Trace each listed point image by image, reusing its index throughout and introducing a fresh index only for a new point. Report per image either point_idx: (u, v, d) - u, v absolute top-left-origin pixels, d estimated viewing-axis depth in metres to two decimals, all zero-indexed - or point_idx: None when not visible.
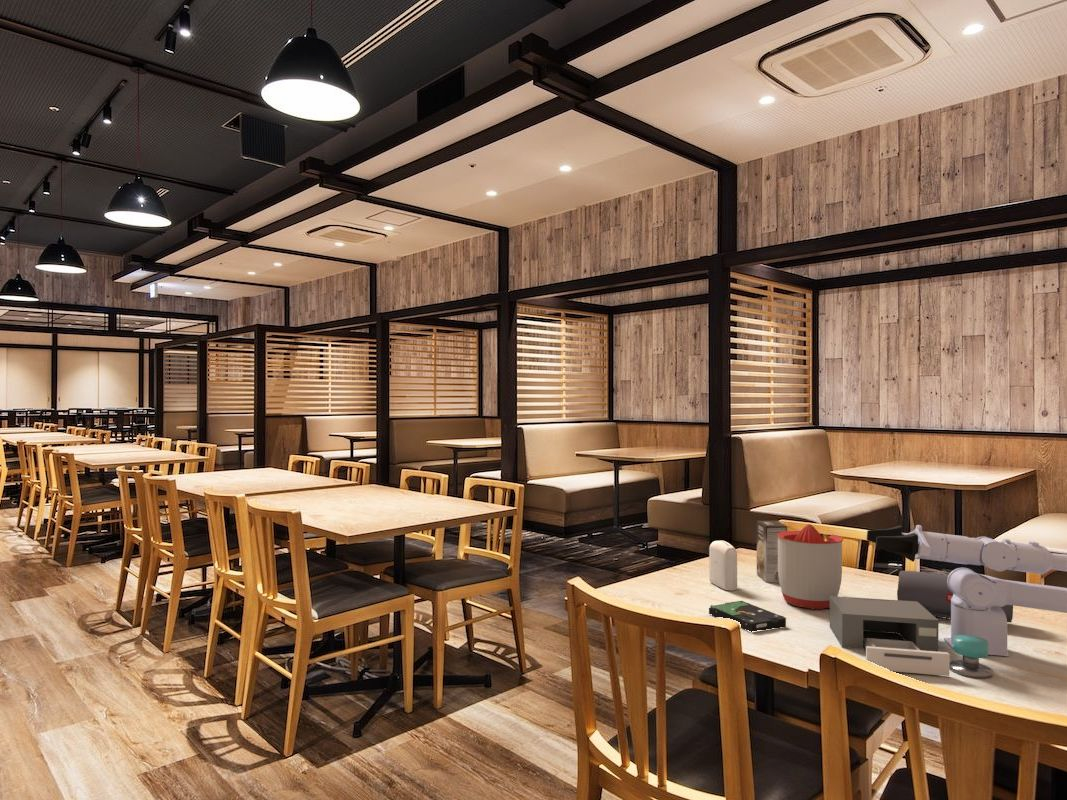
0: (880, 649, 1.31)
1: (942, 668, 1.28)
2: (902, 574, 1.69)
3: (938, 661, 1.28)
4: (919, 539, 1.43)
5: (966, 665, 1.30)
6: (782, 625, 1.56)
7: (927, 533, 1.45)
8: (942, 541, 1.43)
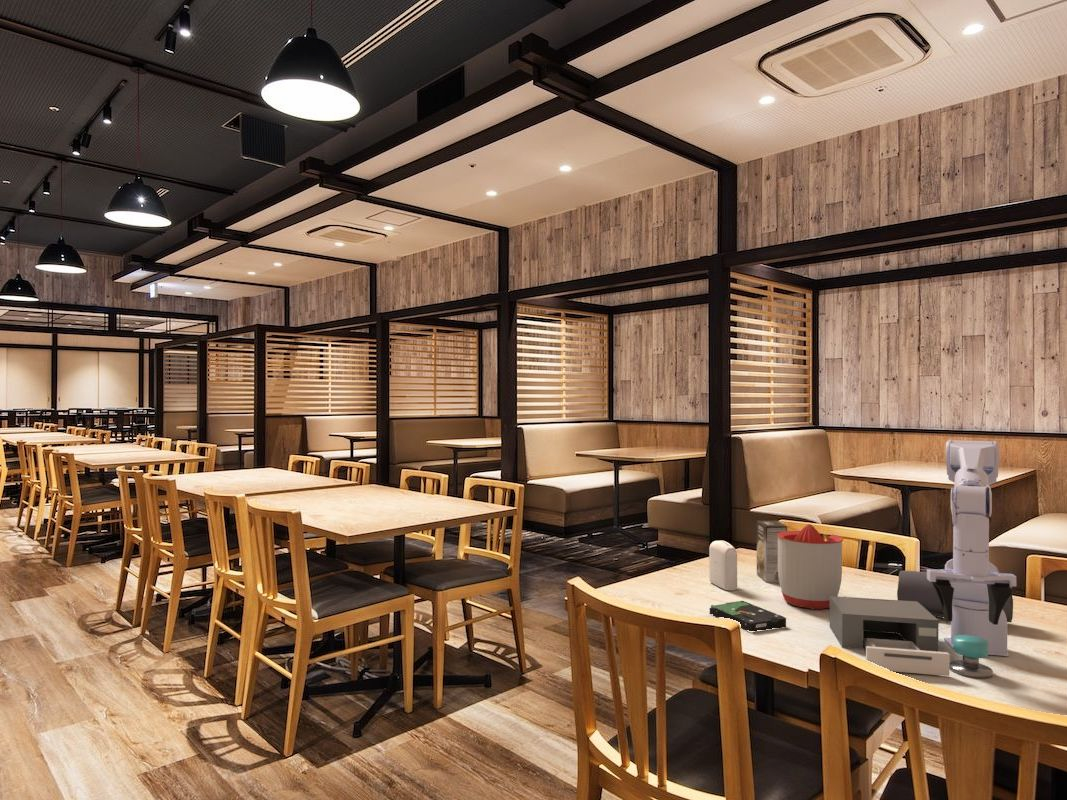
0: (880, 649, 1.31)
1: (942, 668, 1.28)
2: (902, 574, 1.69)
3: (938, 661, 1.28)
4: None
5: (966, 665, 1.30)
6: (782, 625, 1.56)
7: (981, 570, 1.28)
8: (988, 556, 1.29)
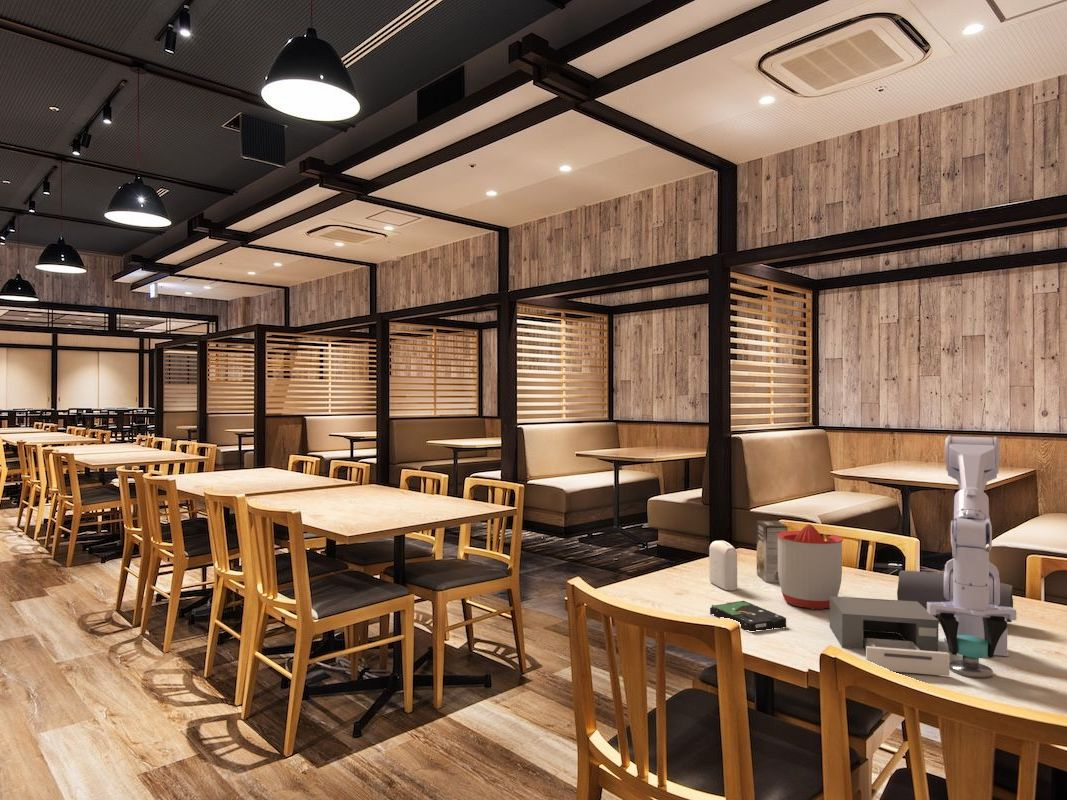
0: (880, 649, 1.31)
1: (942, 668, 1.28)
2: (902, 574, 1.69)
3: (938, 661, 1.28)
4: None
5: (966, 665, 1.30)
6: (782, 625, 1.56)
7: (981, 604, 1.28)
8: (988, 589, 1.29)
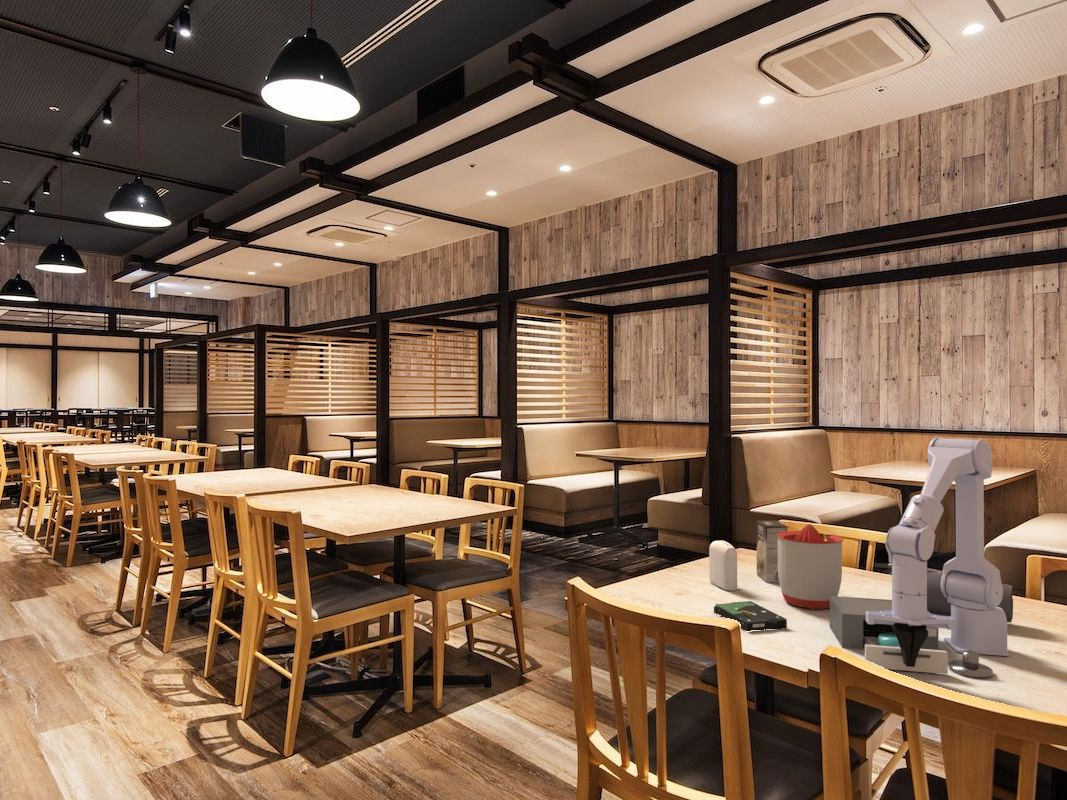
0: (879, 647, 1.31)
1: (941, 666, 1.29)
2: None
3: (936, 659, 1.29)
4: None
5: (966, 665, 1.30)
6: (782, 626, 1.55)
7: (919, 613, 1.26)
8: (926, 599, 1.27)
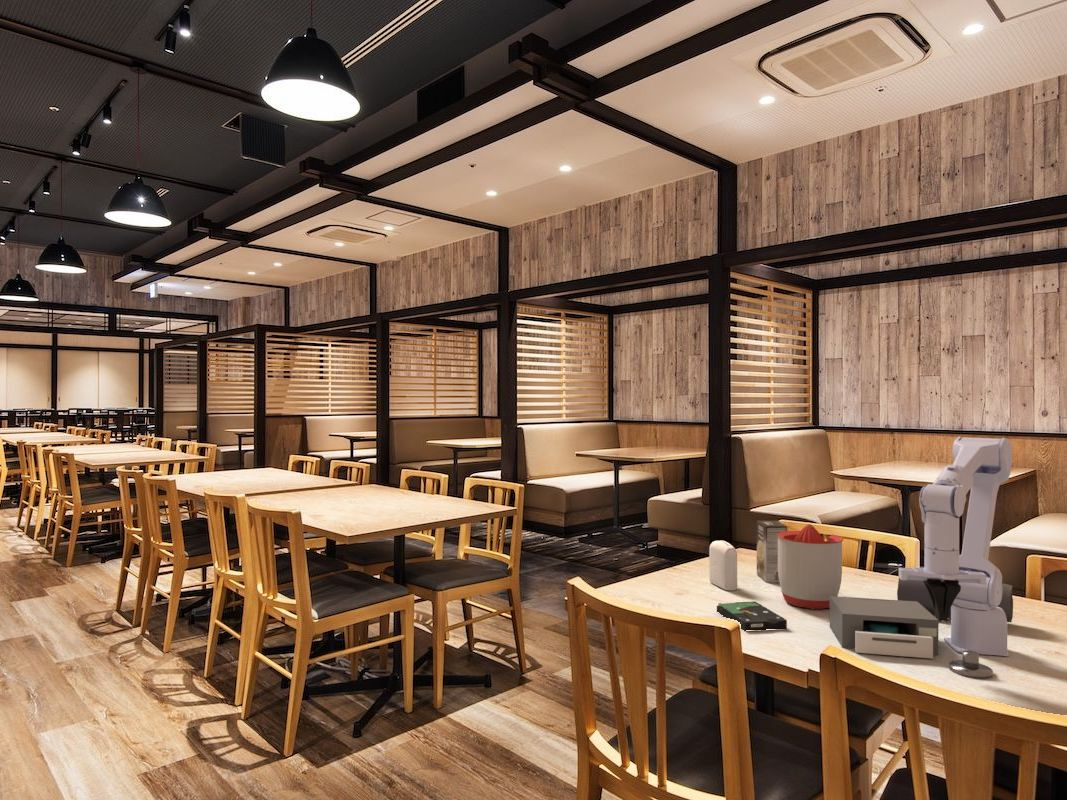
0: (868, 634, 1.39)
1: (926, 651, 1.37)
2: None
3: (922, 644, 1.37)
4: None
5: (966, 665, 1.30)
6: (782, 627, 1.55)
7: (952, 568, 1.29)
8: (958, 554, 1.30)
